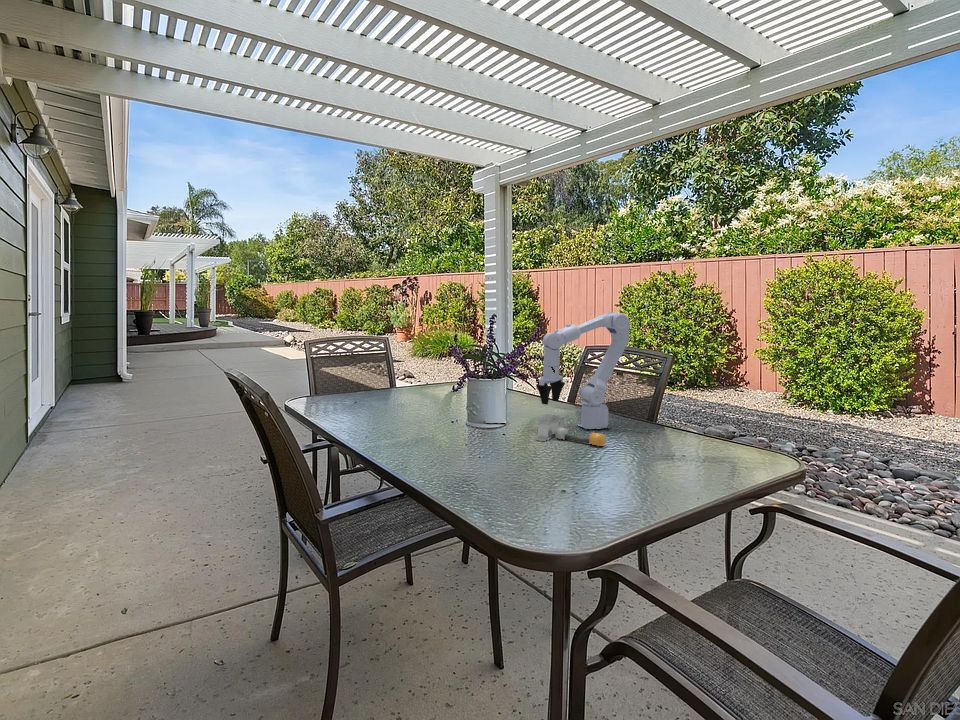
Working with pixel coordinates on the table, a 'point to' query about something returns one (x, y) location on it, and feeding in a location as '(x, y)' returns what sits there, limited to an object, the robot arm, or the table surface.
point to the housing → (549, 427)
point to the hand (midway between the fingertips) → (550, 402)
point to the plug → (594, 437)
